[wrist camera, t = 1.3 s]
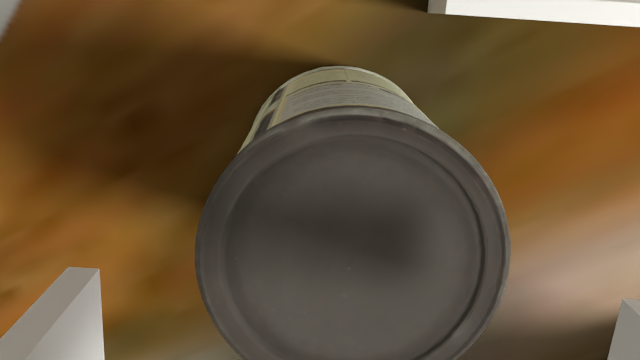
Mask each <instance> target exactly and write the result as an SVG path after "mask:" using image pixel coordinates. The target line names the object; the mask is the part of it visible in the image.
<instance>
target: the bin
mask: <svg viewBox="0 0 640 360" xmlns="http://www.w3.org/2000/svg"><path fill="white" fill-rule="evenodd" d="M427 13H438V14H453V15H467V16H482V17H497V18H512V19H527V20H542V21H556V22H571V23H586V24H601V25H616V26H631V27H640V0H429V2H428V11H427Z"/></svg>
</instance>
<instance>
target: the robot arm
mask: <svg viewBox="0 0 640 360" xmlns="http://www.w3.org/2000/svg"><path fill="white" fill-rule="evenodd" d="M0 360H104V343H103V325H102V307H101V289H100V271H99V269H94V268H76V267H68V268H67V269H66V270H65V271H64V272H63V273H62V274H61V275H60V276H59V277H58V278H57V279H56V280H55V282H54V283H53V284H52V285H51V286H50V287H49V288H48V289H47V290H46V291H45V292H44V293H43V294H42V295H41V296H40V297H39V299H38V300H37V301H36V302H35V303H34V304H33V305H32V306H31V307H30V308H29V309H28V310H27V311H26V312H25V313H24V314H23V315H22V317H21V318H20V319H19V320H18V321H17V322H16V323H15V324H14V325H13V326H12V327H11V328H10V329H9V330H8V331H7V332H6V333H5V335H4V336H3V337H2V338H1V339H0ZM607 360H640V300H634V299H622V303H621V307H620V311H619V315H618V319H617V323H616V327H615V331H614V335H613V339H612V343H611V347H610V351H609V355H608V359H607Z"/></svg>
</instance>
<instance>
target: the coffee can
mask: <svg viewBox="0 0 640 360" xmlns="http://www.w3.org/2000/svg"><path fill="white" fill-rule="evenodd" d="M510 244H511V241H510V233H509V227H508V222H507V218H506V214H505V210H504V207H503V204H502V201H501V199H500V197H499V195H498V192H497V190H496V188H495V186H494V185H493V183H492V181H491V179H490V178H489V176H488V175H487V173H486V172H485V171H484V169H483V168H482V166H481V165H480V164H479V163H478V161H477V160H476V159H475V158H474V157H473V156H472V155H471V154H470V153H469V152H468V151H467V150H466V149H465V148H464V147H463V146H462V145H460V144H459V143H458V142H457V141H456V140H454V139H453V138H451V137H450V136H449V135H447V134H446V133H444V132H443V131H441V130H440V129H439V128H438V127H437V126H436V125H435V124H433V123H432V122H431V121H430V120H429V119H428V118H427V116H426V115H424V114H423V113H422V112H421V111H420V110H419V109H418V108H417V107H416V106H415V105H414V104H413V102H412V101H411V100H410V99H409V97H408V96H407V95H406V94H405V93H404V92H403V91H402V90H401V89H400V88H399V87H398V86H397V85H395V84H394V83H393V82H391V81H390V80H388V79H386V78H384V77H382V76H380V75H378V74H376V73H374V72H371V71H368V70H364V69H361V68H357V67H350V66H330V67H320V68H317V69H314V70H310V71H307V72H304V73H302V74H300V75H298V76H296V77H293V78H292V79H290V80H288V81H287V82H286V83H284V84H283V85H281V86H280V87H279V88H278V89H277V90H276V91H275V92H273V93H272V94H271V95H270V97H269V98H268V99H267V100H266V102H265V103H264V104H263V105H262V107H261V109H260V111H259V112H258V114H257V116H256V118H255V121H254V123H253V126H252V128H251V130H250V132H249V134H248V136H247V138H246V140H245V141H244V143H243V145H242V146H241V148H240V150H239V151H238V153H237V155H236V156H235V157H234V158H233V160H232V161H231V162H230V164H229V165H228V166H227V167H226V169H225V170H224V171H223V173H222V174H221V175H220V177H219V178H218V180H217V182H216V183H215V185H214V187H213V189H212V190H211V193H210V195H209V197H208V199H207V201H206V203H205V206H204V208H203V211H202V214H201V218H200V222H199V226H198V230H197V235H196V244H195V267H196V275H197V281H198V285H199V289H200V292H201V295H202V299H203V301H204V304H205V306H206V309H207V311H208V313H209V315H210V317H211V319H212V321H213V323H214V324H215V326H216V328H217V329H218V331H219V332H220V334H221V335H222V337H223V338H224V339H225V340H226V341H227V343H228V344H229V345H230V346H231V347H232V348H233V350H234V351H235V352H236V353H238V354H239V355H240V356H241V357H242V358H243V359H244V360H456V359H458V358H459V357H460V356H462V355H463V354H464V353H465V352H466V351H467V350H468V349H469V348H470V347H471V346H472V345H473V344H474V343H475V341H476V340H477V339H478V338H479V337H480V335H481V334H482V333H483V332H484V330H485V329H486V327H487V325H488V324H489V322H490V321H491V319H492V317H493V315H494V314H495V312H496V310H497V308H498V306H499V304H500V301H501V299H502V296H503V293H504V290H505V287H506V283H507V278H508V273H509V267H510Z"/></svg>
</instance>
